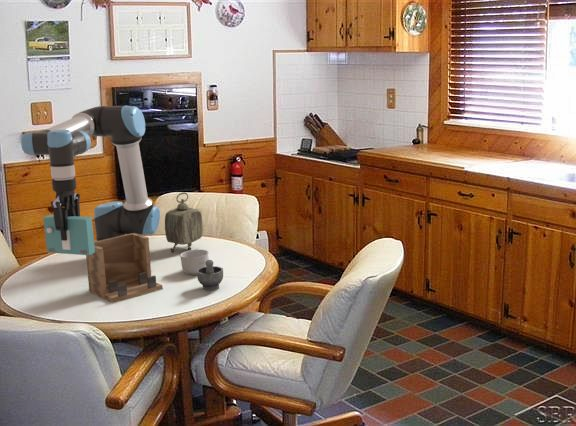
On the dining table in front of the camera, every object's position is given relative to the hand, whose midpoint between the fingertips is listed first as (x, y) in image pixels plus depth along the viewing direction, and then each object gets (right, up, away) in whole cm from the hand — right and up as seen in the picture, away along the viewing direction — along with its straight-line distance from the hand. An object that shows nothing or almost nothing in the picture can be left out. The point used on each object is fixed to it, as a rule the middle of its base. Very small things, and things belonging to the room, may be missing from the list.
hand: (70, 247), depth 250 cm
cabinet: (+13, -16, +23) cm, 31 cm away
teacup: (+37, -11, +43) cm, 57 cm away
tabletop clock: (+29, -5, +73) cm, 78 cm away
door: (0, -2, 0) cm, 2 cm away
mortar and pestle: (+44, -16, +22) cm, 52 cm away
